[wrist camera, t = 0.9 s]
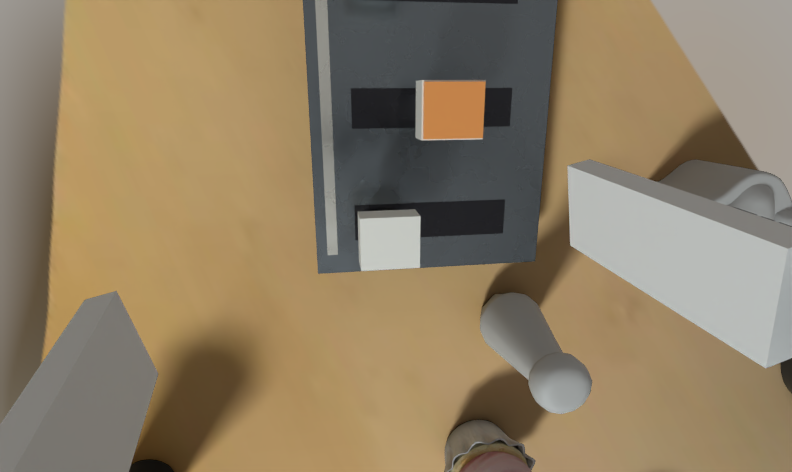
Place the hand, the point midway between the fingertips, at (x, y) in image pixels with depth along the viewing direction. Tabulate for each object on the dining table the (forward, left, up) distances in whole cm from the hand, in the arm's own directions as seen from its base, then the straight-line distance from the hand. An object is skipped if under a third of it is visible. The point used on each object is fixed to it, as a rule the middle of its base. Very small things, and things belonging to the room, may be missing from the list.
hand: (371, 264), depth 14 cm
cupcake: (-13, +30, -27) cm, 42 cm away
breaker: (-3, +5, -22) cm, 23 cm away
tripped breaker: (-7, -4, -22) cm, 23 cm away
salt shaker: (-15, +15, -27) cm, 34 cm away
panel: (-7, -4, -26) cm, 27 cm away
